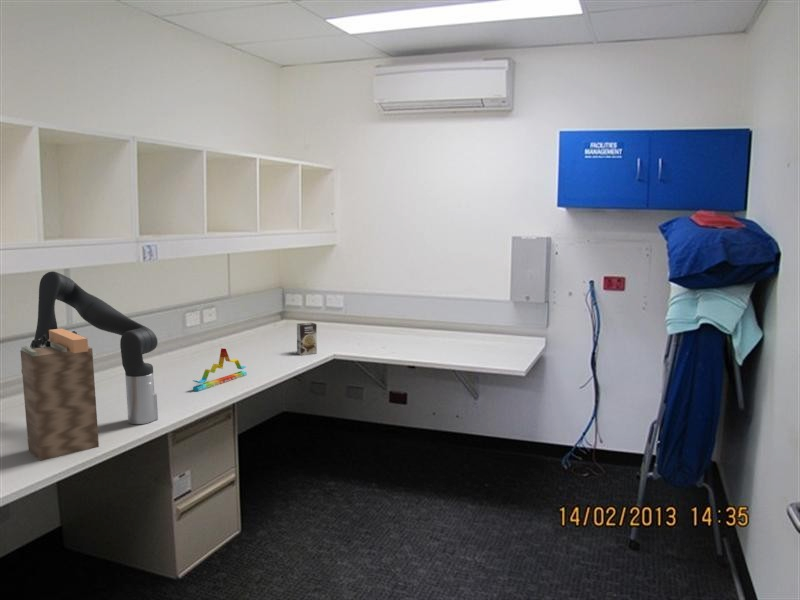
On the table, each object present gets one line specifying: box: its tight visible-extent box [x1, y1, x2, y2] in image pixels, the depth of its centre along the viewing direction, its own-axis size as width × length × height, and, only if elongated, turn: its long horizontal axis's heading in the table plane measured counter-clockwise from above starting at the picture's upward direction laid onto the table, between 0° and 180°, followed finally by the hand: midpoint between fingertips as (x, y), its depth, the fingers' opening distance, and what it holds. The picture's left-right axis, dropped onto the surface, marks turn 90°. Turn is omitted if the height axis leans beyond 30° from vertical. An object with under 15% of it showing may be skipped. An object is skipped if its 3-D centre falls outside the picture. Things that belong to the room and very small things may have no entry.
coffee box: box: [296, 322, 318, 356], centre depth 339 cm, size 9×6×16 cm
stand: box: [20, 342, 100, 462], centre depth 201 cm, size 17×12×33 cm
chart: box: [192, 348, 248, 393], centre depth 281 cm, size 30×3×15 cm, turn 153°
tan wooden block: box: [49, 327, 89, 353], centre depth 203 cm, size 4×24×4 cm, turn 44°
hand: (60, 335), depth 208 cm, fingers open, 8 cm apart
